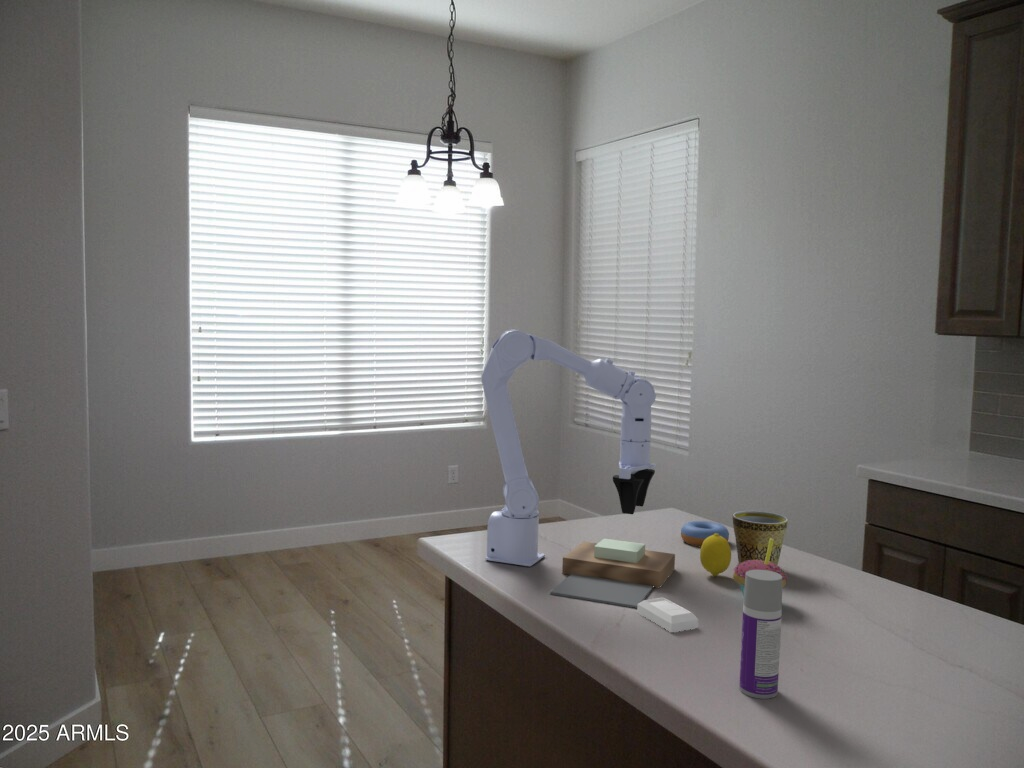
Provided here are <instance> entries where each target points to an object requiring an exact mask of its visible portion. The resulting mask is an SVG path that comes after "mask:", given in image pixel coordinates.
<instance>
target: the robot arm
mask: <svg viewBox="0 0 1024 768" xmlns="http://www.w3.org/2000/svg"><path fill="white" fill-rule="evenodd" d="M529 359H531V360H532V361H534V362H535V361H550V362H552V363H555V364H557V365H559V366H561V367H564V368H565V369H568V370H571V371H572V372H574V373H577V374H579V375H581V376H583V378H584V380H585V383H586V385H587V386H588V387H590V388H591V389H594V390H595V391H599V392H600V393H602V394H604V395H607V396H608V397H610V398H613V399H615V400H620V401H621V402H622V406H621V407H622V408H621V410H622V412H621V418H620V419H621V420H620V421H621V422H620V440H619V441H620V444H619V445H620V446H619V447H620V448H619V461H618V468H619V469H618V470H619V471H618V474H615V475H613V476H612V482H613V484H614V486H615V488H616V490H617V494H618V498H619V504H620V510H621V513H622V514H624V515H625V514H627V515H634V513H635V510H636V508H637V507H643V506H644V505H645V502H646V498H647V493H648V489H649V486H650V483H651V481H652V479H653V477H654V475H655V472H656V471H655V468H656V466H657V464H656V463H651V461H650V460H651V459H650V458H651V439H652V438H651V436H652V406H653V404H654V403H655V401H656V399H657V394H656V392H655V388H654V385H653V384H652V383H651V382H650V381H648V380H646V379H644V378H642V377H640V376H638V375H636V372H635V371H633V370H629V371H627V370H626V369H623V368H621V367H619V366H617V365H615V364H614V361H613V360H611V359H609V358H605V360H604V359H602V358H597V359H595V360H592V361H590V360H588V359H586V358H584V357H582V356H581V355H579V354H577V353H575V352H573V351H571V350H570V349H567V348H566V347H564V346H561V345H559V344H558V343H556V342H554V341H552V340H550V339H547V338H543V337H540V336H537V335H533V334H529V333H526V332H525V331H524V330H523V331H522V330H518V329H513V328H512V329H508V330H505V331H504V332H502V333H501V334H500V335H499V337H498V338H497V339H496V340H495V341H494V343H493V344H492V346H491V349H490V352H489V354H488V356H487V359H486V362H485V365H484V367H483V370H482V373H481V376H480V377H481V378H480V379H481V383H482V388H483V392H484V398H485V400H486V405H487V409H488V414H489V418H490V422H491V426H492V430H493V434H494V439H495V443H496V448H497V450H498V451H497V452H498V457H499V460H500V465H501V469H502V473H503V477H504V483H503V486H502V487H503V488H502V495H503V498H504V499H505V505H504V506H503V508H502V509H501V510H496V511H495V510H494V511H492V512H491V514H490V516H489V518H488V521H487V528H486V531H487V533H486V556H485V557H484V559H485V560H486V561H489V562H490V561H492V562H496V563H503V564H509V565H518V566H524V567H532V566H533V565H534V564H535V565H536V563H538V562H539V561H540V560H542V559H543V558H544V557H546V553H543V552H538V551H539V545H538V544H539V522H540V521H539V519H540V518H539V517H540V515H539V513H540V511H539V510H538V507H539V505H540V497H539V492H538V491H537V490H536V487H535V485H534V484H535V483H534V482H533V481H532V479H531V478H530V477H529V473H528V469H527V466H526V465H527V464H526V461H525V458H524V454H523V449H522V445H521V440H520V437H519V431H518V428H517V423H516V420H515V419H516V418H515V413H514V410H513V406H512V402H511V397H510V394H509V389H508V385H507V383H508V382H509V381H510V379H511V378H512V376H513V374H515V372H516V370H517V369H518V368H519V367H521V366H522V365H524V364H525V363H526V362H527V361H529Z"/></svg>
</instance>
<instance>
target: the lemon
mask: <svg viewBox="0 0 1024 768" xmlns="http://www.w3.org/2000/svg"><path fill="white" fill-rule="evenodd" d="M699 558H700V563H701V566H702V567H703V569H705V570H706V571H707V572H709V573H710V574H711V576H712V577H717V576H718V575H719V574H722V573H724V572H726V570H727V569H729V567H730V565H731V561H732V549H731V545H730V543H729V540H728V541H727V540H726V539H725V538H723V537H722V536H720V535H719V534H717V533H715V534H714V535H711V536H709V537H707V538H706V539H705V540H704V541H703V543H702V546H701V547H700V552H699Z"/></svg>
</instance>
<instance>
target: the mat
mask: <svg viewBox="0 0 1024 768" xmlns="http://www.w3.org/2000/svg"><path fill="white" fill-rule="evenodd" d="M652 588H653V586H649V585H642V584H636V583H629V582H623V581H616V580H609V579H603V578H596V577H590V576H583V575H577V574H571V575H569V576H567V577H566V578H565V579H564V580H562V581H561V582H560V583H559V584H558V585H557V586H555V587H554V588H552V589H551V591H550V592H549V593H550V595H555V596H560V597H564V598H565V597H566V598H572V599H577V600H584V601H589V602H597V603H601V602H602V603H603V604H607V603H609V604H608V605H613V604H616V605H615V606H620V605H621V607H626V606H627V607H628V608H632V607H635V608H634V609H637V605H638V603H640V602H642V601H643V600H645V599H646V598H647V597H648V596H649V594H650V593H651V592H652V591H653V589H654V588H653V589H652ZM651 590H652V591H651ZM650 591H651V592H650ZM649 592H650V593H649ZM648 593H649V594H648ZM647 595H648V596H647ZM646 596H647V597H646ZM645 597H646V598H645ZM644 598H645V599H644ZM602 603H601V604H602ZM627 607H626V608H627Z"/></svg>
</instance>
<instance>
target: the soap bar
mask: <svg viewBox="0 0 1024 768" xmlns="http://www.w3.org/2000/svg"><path fill="white" fill-rule="evenodd" d="M636 609H637V610H636V613H637V614H638V613H639V614H638V615H640V614H641V615H640V616H642V617H643V616H644V617H643V618H645V617H646V618H645V619H647V618H648V619H650V620H651V621H650V620H649V621H650V622H652V621H653V622H655V623H656V624H655V623H654V624H655V625H657V624H658V625H660V626H661V627H660V626H659V627H660V628H662V627H663V628H665V629H666V630H665V629H664V630H665V631H667V630H668V631H669V633H670V632H674V633H680V632H685V631H684V630H686V631H691V630H696V629H695V628H697V629H698V627H699V618H698V617H696V615H695V614H694V613H693V612H691V611H689V610H688V609H686V608H685V607H682V606H680V605H678V604H676V603H674V602H673V601H671V600H670V599H667V598H665V597H664V596H662V597H655V598H649V599H644V600H643V601H642V602H640V603H638V605H637V608H636ZM648 619H647V620H648ZM653 622H652V623H653ZM658 625H657V626H658ZM663 628H662V629H663ZM690 629H691V630H690ZM668 631H667V632H668ZM679 631H680V632H679Z"/></svg>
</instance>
